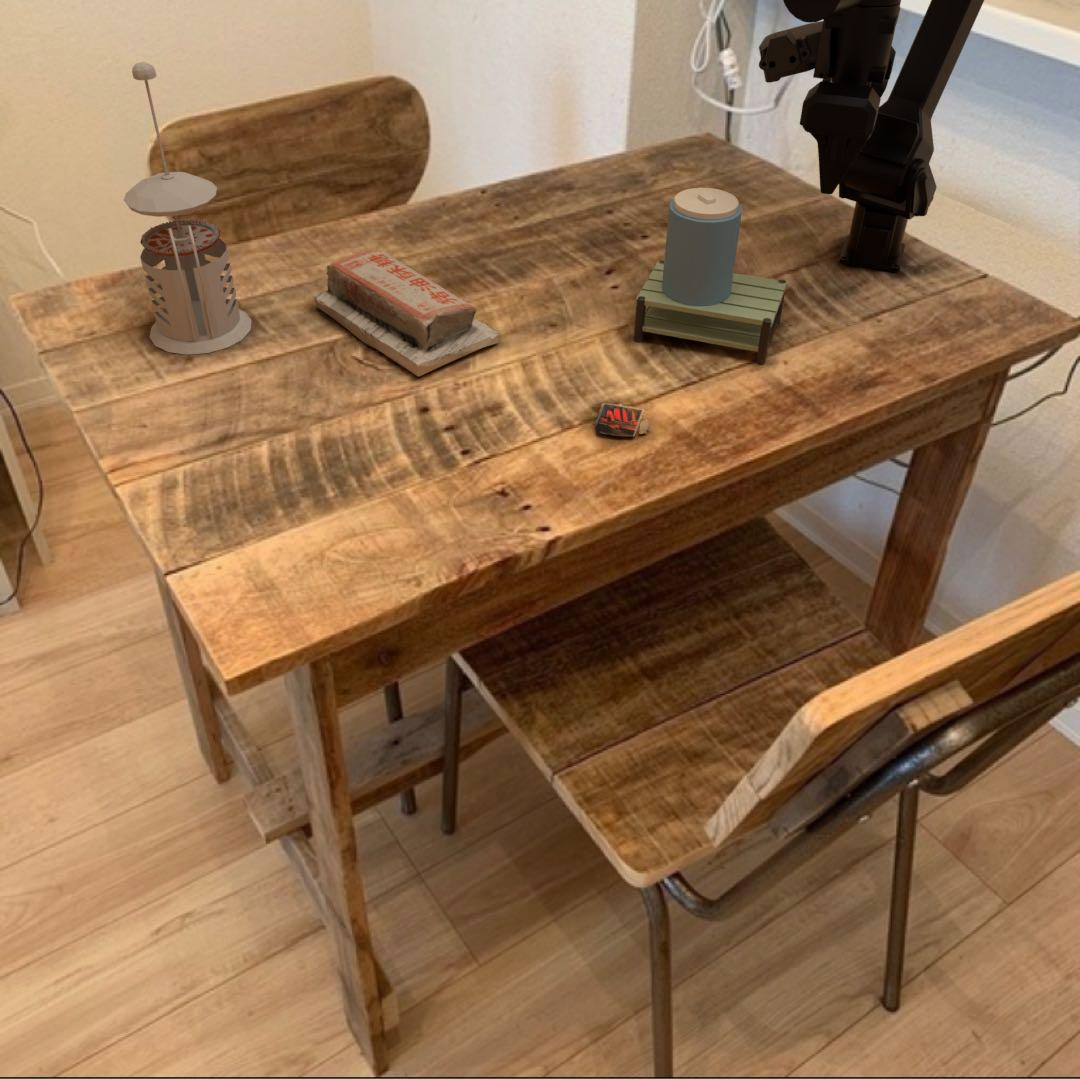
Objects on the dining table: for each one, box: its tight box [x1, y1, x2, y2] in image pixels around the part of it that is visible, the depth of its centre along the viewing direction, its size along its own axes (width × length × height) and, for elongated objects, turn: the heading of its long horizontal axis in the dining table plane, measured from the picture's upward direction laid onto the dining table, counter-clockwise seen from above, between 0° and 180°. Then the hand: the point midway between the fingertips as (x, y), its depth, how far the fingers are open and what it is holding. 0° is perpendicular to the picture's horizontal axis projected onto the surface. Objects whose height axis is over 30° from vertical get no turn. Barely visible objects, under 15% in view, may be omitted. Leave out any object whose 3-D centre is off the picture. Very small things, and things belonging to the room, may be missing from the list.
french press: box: [123, 61, 252, 356], centre depth 97 cm, size 10×12×25 cm
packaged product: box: [314, 249, 500, 378], centre depth 104 cm, size 18×5×10 cm
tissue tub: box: [662, 187, 743, 306], centre depth 100 cm, size 7×7×9 cm
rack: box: [633, 259, 788, 365], centre depth 104 cm, size 9×13×4 cm
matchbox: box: [594, 402, 651, 438], centre depth 93 cm, size 5×5×1 cm
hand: (833, 175), depth 103 cm, fingers open, 9 cm apart
